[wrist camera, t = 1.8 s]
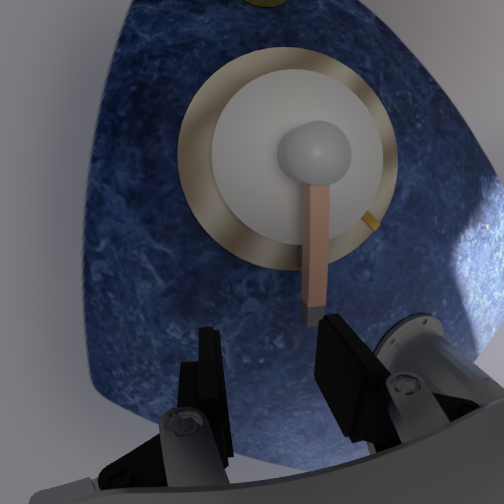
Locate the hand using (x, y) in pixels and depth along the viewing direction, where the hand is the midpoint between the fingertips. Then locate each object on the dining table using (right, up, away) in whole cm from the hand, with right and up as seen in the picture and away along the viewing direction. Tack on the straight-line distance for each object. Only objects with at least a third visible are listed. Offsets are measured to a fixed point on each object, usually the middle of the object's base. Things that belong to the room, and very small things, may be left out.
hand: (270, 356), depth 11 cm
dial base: (+3, +13, +17) cm, 22 cm away
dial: (+4, +10, +16) cm, 19 cm away
